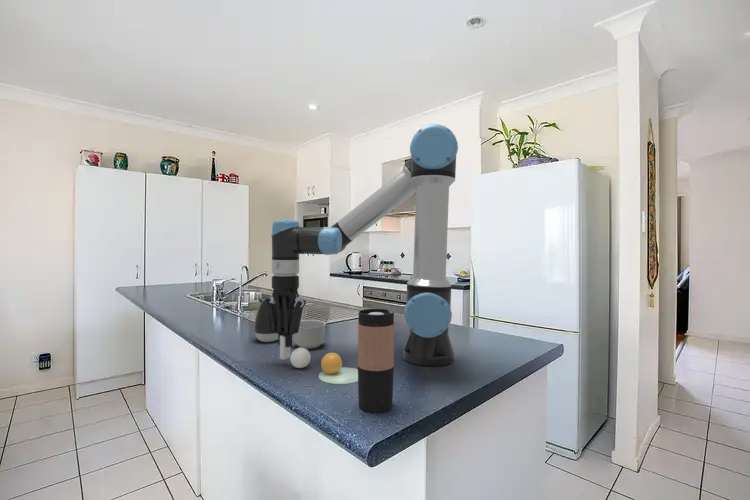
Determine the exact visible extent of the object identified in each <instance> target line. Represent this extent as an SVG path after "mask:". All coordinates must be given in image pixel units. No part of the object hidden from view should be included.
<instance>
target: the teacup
mask: <svg viewBox="0 0 750 500" xmlns="http://www.w3.org/2000/svg"><path fill="white" fill-rule="evenodd" d="M326 325H327V323H326V322H325V321H322V320H318V319H303V320H302V319H301V321H300V326H299V330H298V333H295V334H293V335H292V342H294V344H295V345H297V346H298V348H305V349H307V350H313V349H317V348H319V347H320V346H321V345H322V344H323V343H324V342H325V339H326Z"/></svg>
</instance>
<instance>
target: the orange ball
mask: <svg viewBox="0 0 750 500" xmlns="http://www.w3.org/2000/svg"><path fill="white" fill-rule="evenodd" d="M342 365H343V360H342V358H341V356H340V354H338V353H337V352H327V353H326V354H325V355H323V356H322V359H321V361H320V366H321V369H322V371H324V372H326V373H327V374H335V373H337V372H338V371H339V370H340V369H341V367H343V366H342Z"/></svg>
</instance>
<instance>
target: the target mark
mask: <svg viewBox="0 0 750 500" xmlns="http://www.w3.org/2000/svg"><path fill="white" fill-rule="evenodd" d="M318 379H319V380H320V381H321V382H324V383H326V384H332V385H349V384H354V383H358V368H355V367H347V366H345V367H343V366H341V369H340V370H339V371H338V372H337V373H335V374H327V373H326V372H324V371H323V370H322V371H321V372H319V374H318Z"/></svg>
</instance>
